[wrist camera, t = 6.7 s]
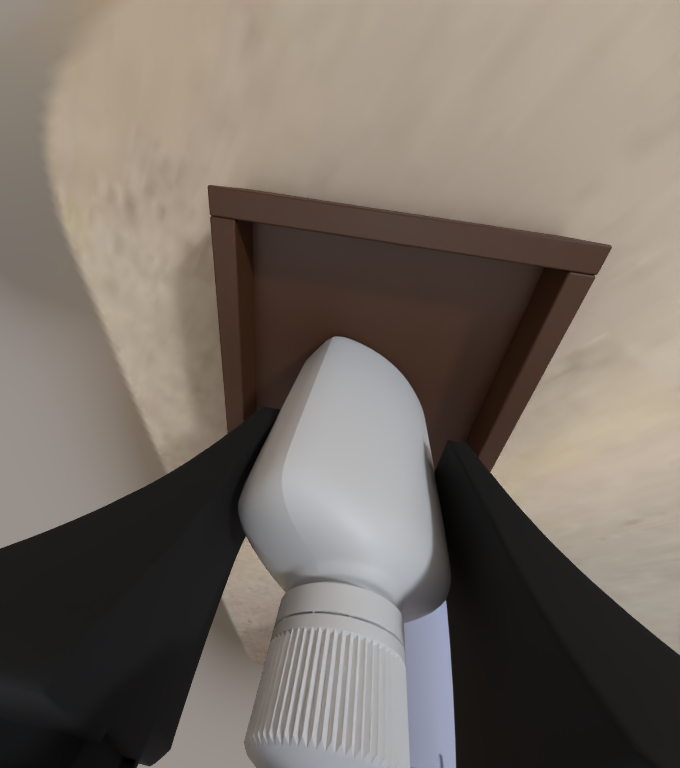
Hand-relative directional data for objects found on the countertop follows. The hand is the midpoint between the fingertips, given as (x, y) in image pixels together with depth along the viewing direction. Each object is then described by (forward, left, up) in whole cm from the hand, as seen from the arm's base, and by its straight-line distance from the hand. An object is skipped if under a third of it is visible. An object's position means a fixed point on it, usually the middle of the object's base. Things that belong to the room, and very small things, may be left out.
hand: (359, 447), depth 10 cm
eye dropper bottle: (0, 0, -4) cm, 4 cm away
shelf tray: (0, 0, -5) cm, 5 cm away
